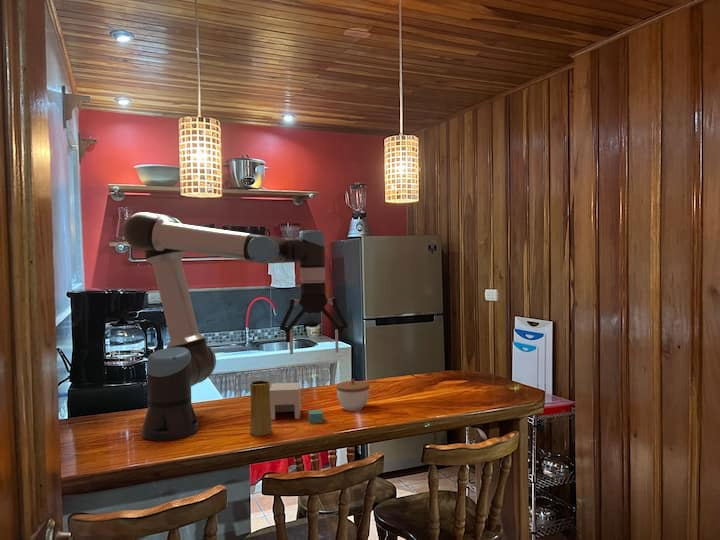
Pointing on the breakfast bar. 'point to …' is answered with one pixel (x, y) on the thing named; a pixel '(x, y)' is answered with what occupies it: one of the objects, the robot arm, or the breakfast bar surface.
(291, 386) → the notched white block
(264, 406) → the vase
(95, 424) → the breakfast bar surface
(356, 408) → the lidded jar
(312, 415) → the teal block
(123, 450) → the breakfast bar surface
